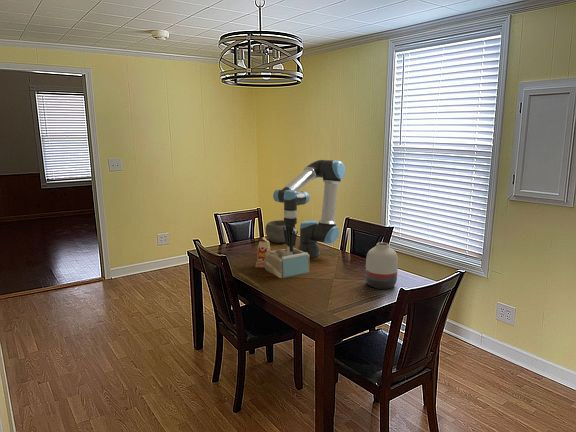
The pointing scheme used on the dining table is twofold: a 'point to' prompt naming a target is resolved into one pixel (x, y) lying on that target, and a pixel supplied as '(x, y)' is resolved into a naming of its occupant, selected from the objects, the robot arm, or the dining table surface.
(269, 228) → the bowl
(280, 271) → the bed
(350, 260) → the dining table surface
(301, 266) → the light blue flat panel
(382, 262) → the vase
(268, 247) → the milk carton
